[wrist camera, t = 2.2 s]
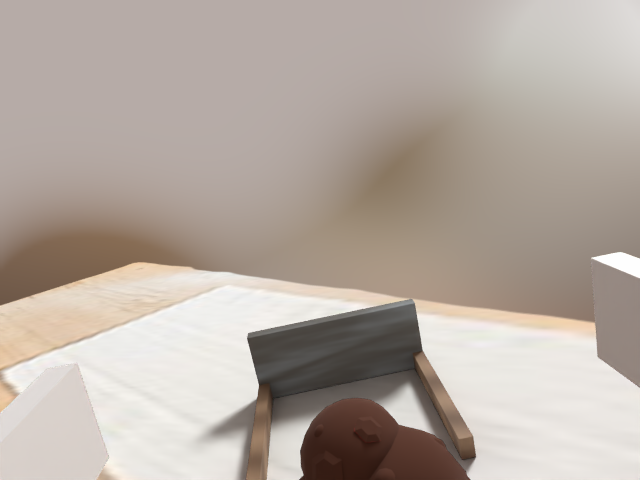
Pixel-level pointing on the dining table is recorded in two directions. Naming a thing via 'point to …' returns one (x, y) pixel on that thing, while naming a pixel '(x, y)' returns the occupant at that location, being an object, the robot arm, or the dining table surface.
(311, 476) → the ice cream bowl
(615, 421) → the dining table surface
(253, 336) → the frame
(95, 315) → the dining table surface
